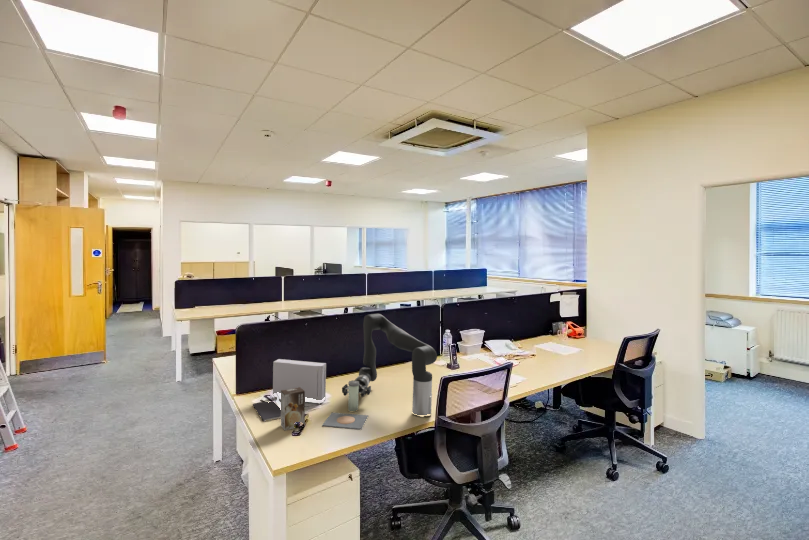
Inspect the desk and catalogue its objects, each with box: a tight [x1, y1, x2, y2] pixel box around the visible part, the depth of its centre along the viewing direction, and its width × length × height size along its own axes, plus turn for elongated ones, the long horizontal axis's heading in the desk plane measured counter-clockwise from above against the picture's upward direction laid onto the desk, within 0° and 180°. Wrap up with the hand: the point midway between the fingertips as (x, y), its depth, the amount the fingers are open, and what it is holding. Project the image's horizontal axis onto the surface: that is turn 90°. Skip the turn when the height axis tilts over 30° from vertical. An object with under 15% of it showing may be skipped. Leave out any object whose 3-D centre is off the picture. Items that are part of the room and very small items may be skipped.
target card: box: [321, 411, 369, 430], centre depth 177 cm, size 18×14×1 cm
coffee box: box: [280, 387, 306, 431], centre depth 170 cm, size 9×6×16 cm
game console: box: [272, 358, 327, 400], centre depth 200 cm, size 6×27×20 cm, turn 78°
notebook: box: [252, 401, 281, 422], centre depth 186 cm, size 13×2×21 cm
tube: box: [347, 380, 359, 412], centre depth 190 cm, size 5×5×14 cm
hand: (353, 394), depth 189 cm, fingers open, 8 cm apart
